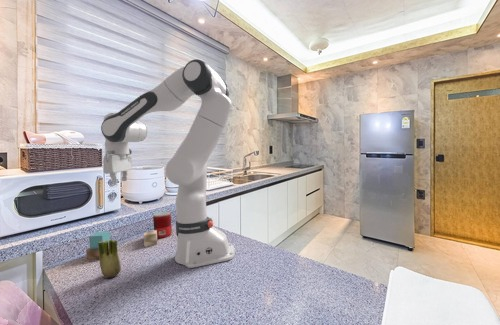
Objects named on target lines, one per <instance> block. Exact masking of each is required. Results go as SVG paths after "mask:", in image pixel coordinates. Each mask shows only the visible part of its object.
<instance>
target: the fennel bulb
mask: <svg viewBox="0 0 500 325" xmlns="http://www.w3.org/2000/svg"><path fill="white" fill-rule="evenodd" d="M98 245H99V259H98V260H99V267H100V271H101V273H102V276H103V278H105V279H111V278H114V277H116V276H117V275H118V274H120V273H121V271H122V270H121V260H120V257H119V253H118V240H117V239H115V240H114V239H110V240H109V245H108V241H104V242H103V241H101V242H98Z"/></svg>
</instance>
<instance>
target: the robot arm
mask: <svg viewBox="0 0 500 325" xmlns="http://www.w3.org/2000/svg"><path fill="white" fill-rule="evenodd" d="M228 87H229V86H228V85H227V83H226V82H225V81H224V80H223V79H222V77H221V76H220V75H219V74H218V72H217V71H215V70H214V69H213V68H212V67H211V66H210V65H209V64H208V63H206V61H203V60H201V59H192V60H190V61H188V62H187V63H186V64H185V66H182V67H180V68H178V69H177V70H175V71H174V72H172V73H171V74H170V75H168V76H167V77H166V78H165V79H164V80H163V81H162V82H161V83H160V84H158V85H156V86H155V87H154V88H153V89H150V90H149V91H147V92H144V93H143V94H141V95H139V96H138V97H136V98H135V99H134V100H132V101H130V103H128V105H126V106H124V107H123V108H122V109H121V110H119V111H118V112H110V113H107V114H106V115H105V116H104V118H103V121H102V123H101V126H100V130H101V134H102V135H103V137H104V138H105V139H104V140H105V141H104V151H105V153H104V155H103V159H102V164H103V166H102V167H103V168H102V169H103V172H104V175H107V174H109V177H110V179H111V182H112V183H111V184H112V185H114V184H115V185H117V184H118V183H119V179H118V177H117V176H118V174H117V173H121V174H122V175H121V176H122V177H121V182H126V181H128V173H129V171H131V170H132V168H133V158H132V155H133V150H132V149H131V148H130V146H129V143H139V142H143V141H144V140H145V139H146V137H147V136H148V135H147V134H148V128H147V126H146V124H145V123H144V122H143V121H140V119H142V118H143V117H144V116H146V115H148V114H151V113H157V112H172V111H175V110H176V109H178V108H180V107H181V106H183V105H184V104H185V103H186V102H187V101H188V100H189V99H190V98H191V97H193V96H194V95H195V96H198V97H199V98H200V99H201V105H200V107H199V110H198V111H197V114H196V115H195V117H194V120H193V122H192V124H191V126H190V128H189V131H188V133H187V134H186V136H185V137H184V139H183V141H182V142H181V143H180V145H179V147H178V148H177V149H176V151H175V153H174V155H172V157H171V159H169V161H168V162H167V163H166V166H165V170H164V171H165V175H166V178H167V179H168V180H169V182H170V183H172V184H174V185H177V187H178V188H177V195H176V196H175V214H176V221H175V234H176V237H177V238H176V250H175V256H174V261H175V262H176V263H177V264H180V265H183V266H185V267H186V268H188V269H192V268H197V267H203V266H208V265H212V264H218V263H221V262H228V261H230V260H232V259H233V258H234V256H235V252H236V250H235V247H234V245H233V244H232V243H231V242H229V239H228V236H227V235H226V234H225V233H224V232H223V231H222V230H220V229H218V228H216V227H215V226H214V222H213V217H209V216H207V215H208V214H207V211H208V210H207V183H208V177H207V176H208V164H207V162H208V160H209V158H210V156H211V154H212V152H214V150H215V148H216V147H217V145H218V142H219V140H220V138H221V135H222V134H223V132H224V130H225V128H226V125H227V122H228V120H229V117H230V113H231V111H232V110H231V109H232V106H233V105H232V101H231V99H230V98H229V96H230V91H229V90H230V89H229V88H228Z"/></svg>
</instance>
